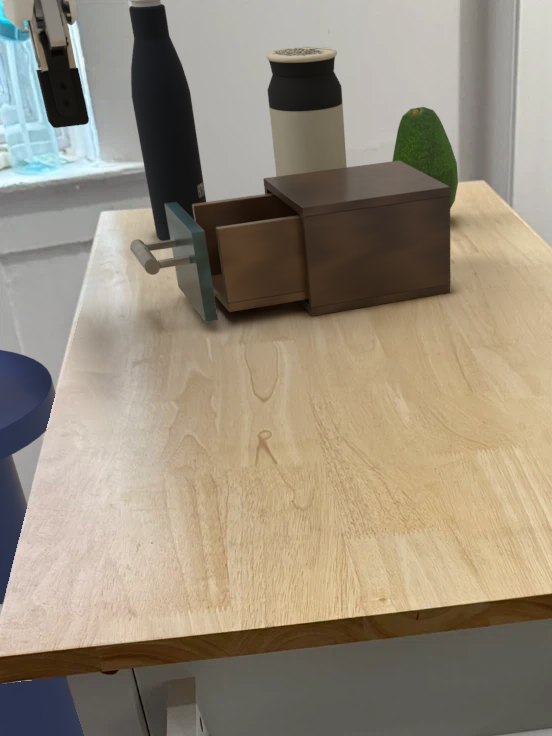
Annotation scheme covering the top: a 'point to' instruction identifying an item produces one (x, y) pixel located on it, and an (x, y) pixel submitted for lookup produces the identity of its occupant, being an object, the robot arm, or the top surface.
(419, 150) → the avocado
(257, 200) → the drawer
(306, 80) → the travel mug
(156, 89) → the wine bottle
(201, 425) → the top surface
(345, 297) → the cabinet
